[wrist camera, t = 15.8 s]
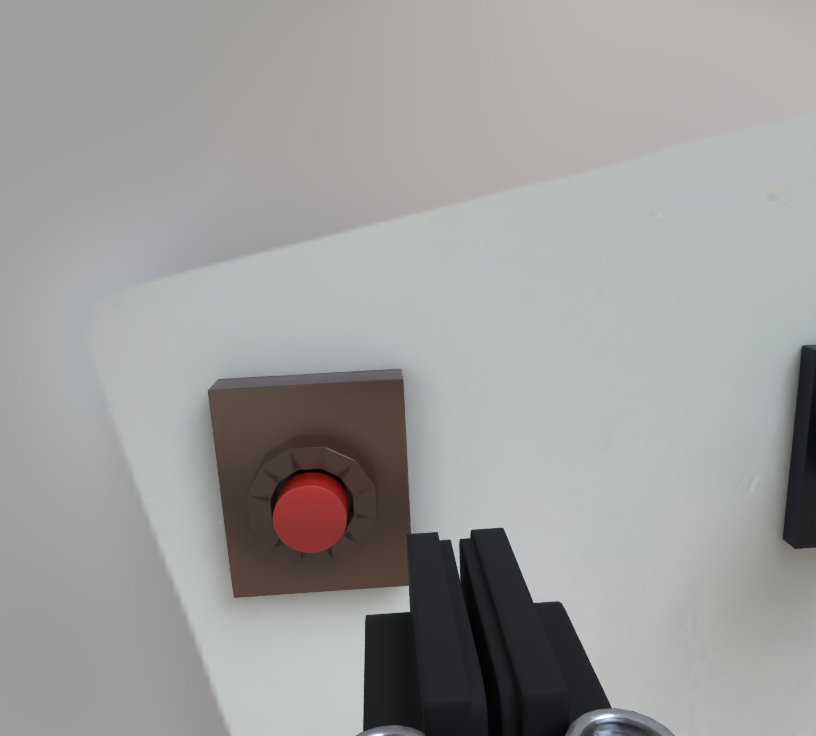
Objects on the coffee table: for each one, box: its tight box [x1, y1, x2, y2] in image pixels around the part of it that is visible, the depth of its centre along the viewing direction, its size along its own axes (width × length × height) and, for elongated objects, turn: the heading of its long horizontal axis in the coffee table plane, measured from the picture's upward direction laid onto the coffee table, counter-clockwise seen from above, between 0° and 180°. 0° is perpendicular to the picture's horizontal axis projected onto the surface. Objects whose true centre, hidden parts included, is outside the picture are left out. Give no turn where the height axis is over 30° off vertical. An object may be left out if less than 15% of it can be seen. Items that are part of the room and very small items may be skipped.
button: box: [273, 472, 348, 553], centre depth 33 cm, size 4×4×2 cm
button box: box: [208, 369, 411, 598], centre depth 35 cm, size 12×10×4 cm
